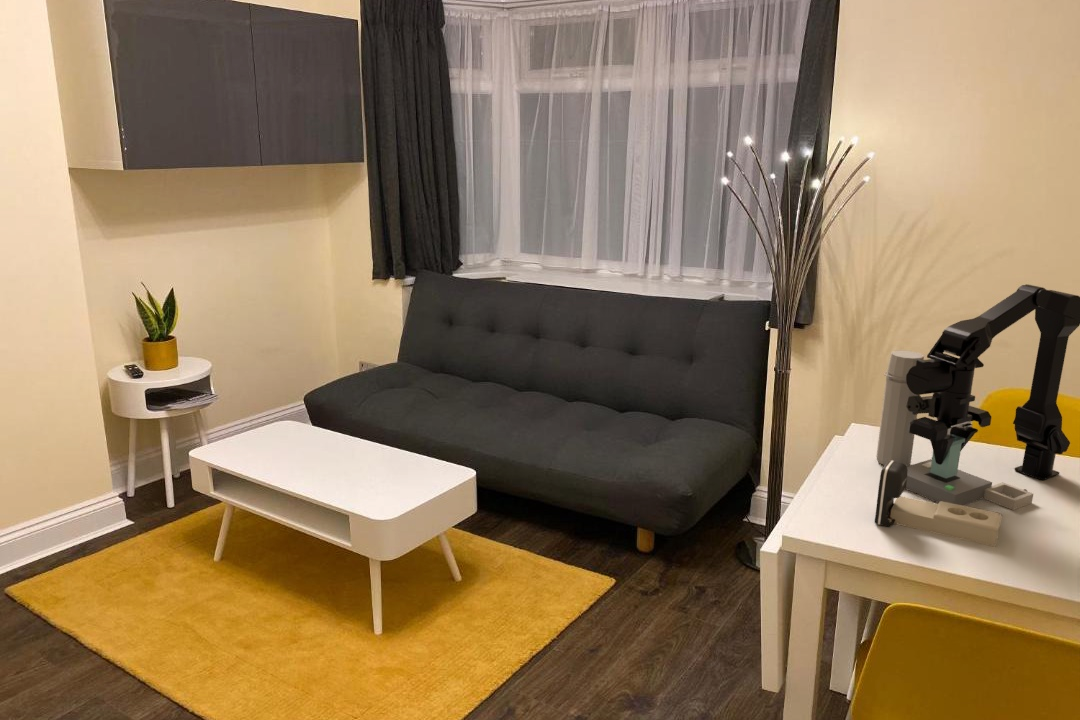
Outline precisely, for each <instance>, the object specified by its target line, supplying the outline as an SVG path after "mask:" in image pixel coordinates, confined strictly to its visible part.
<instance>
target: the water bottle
mask: <svg viewBox="0 0 1080 720" xmlns="http://www.w3.org/2000/svg"><path fill="white" fill-rule="evenodd" d="M924 358H925V356H924V355H923V354H922V353H920V352H918V351H912V350H893V351H891V353H890V356H889V360H888V365H887V368H886V369H887V370H886V372H884V373H883V375H884V377H885V386H884V391H883V392H884V393H883V399H882V400H883V402H882V409H881V416H880V417H881V418H880V424H879V432H878V433H879V434H878V441H877V450H876V455H875V457H876V460H877V462H878V463H879V464H881V465H883V466H884V465H885V464H886V463H887V461H889V460H890V461H892V460H893V461H895V462H900V463H903V464H905V465H906V466H910V464H911V463H912V456H913V448H914V440H915V434H912V433H909V424H910V422H911V421H913V420H915V419H918V414H917V415H913V414H912V412H910V411H909V410H908V408H907V407H906V406H907V401H908V397H910V396H917V395H916V394H914V393H912V392H911V391H910V390H909V388H908V386H907V382H906V375H907V373H908V371H909V370H910V368H912V367H913V366H916V362H917V360H919V359H924ZM924 360H925V359H924Z"/></svg>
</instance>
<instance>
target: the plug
mask: <svg viewBox="0 0 1080 720" xmlns="http://www.w3.org/2000/svg"><path fill="white" fill-rule="evenodd" d="M950 435H951V436H954V437H955V439H954V441H953V443H952V445H951V447H950V449H949V451H948V453H947V455H946V458H945V459H944V461H943V463H942V464H941V465H939V464H937V463H936V461H935V456H934V452H933V451H932V456H931V459H932V463H931V470H930V472H931V473H933V474H936V475H938V476H941V477H943V478H949V477H952V476H955V475H957V471H958V470H959V463H960V457H961V452H962V450H961V444H962V443H964V442H965V438H963V437H960V436H957V435H954V434H951V433H950ZM960 451H961V452H960Z"/></svg>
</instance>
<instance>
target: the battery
mask: <svg viewBox="0 0 1080 720" xmlns="http://www.w3.org/2000/svg"><path fill="white" fill-rule="evenodd" d="M907 472H908V469H907V466H906V465H905V464H903V463H900V462H895V461H893V460H892V461H890V460H889V461H887V463H886V464H885V465H883V466H882V468H881V472H880V476H879V484H878V491H877V500H876V507H875V508H876V509H875V517H874V524H876V525H878V526H882V527H884V526H885V527H893V525H894V524H895V523H894V522H895V519H893V517H892V516H891V509H892V507H893V505H894V503H895V501H894V499H897V498H899V497H900V496H902V494H903V492H904V491H905V490H906V489H905V488H906V484H907ZM890 517H891V518H890Z"/></svg>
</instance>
